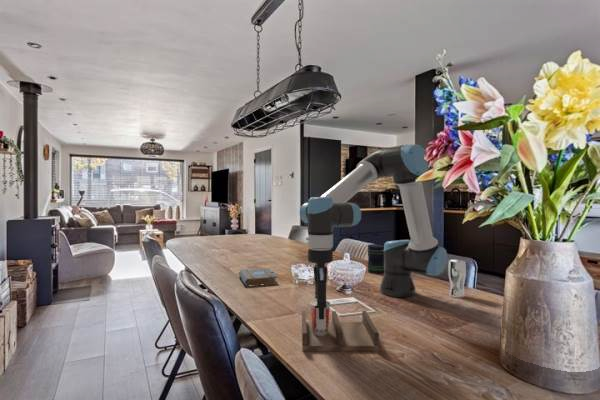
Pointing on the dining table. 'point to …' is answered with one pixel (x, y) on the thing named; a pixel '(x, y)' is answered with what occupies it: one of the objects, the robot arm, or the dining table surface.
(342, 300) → the photo frame
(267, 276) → the book
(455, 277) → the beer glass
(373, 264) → the storage jar
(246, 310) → the dining table surface
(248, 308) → the dining table surface
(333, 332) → the divided wooden tray
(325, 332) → the beverage cup
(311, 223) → the robot arm
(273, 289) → the dining table surface
